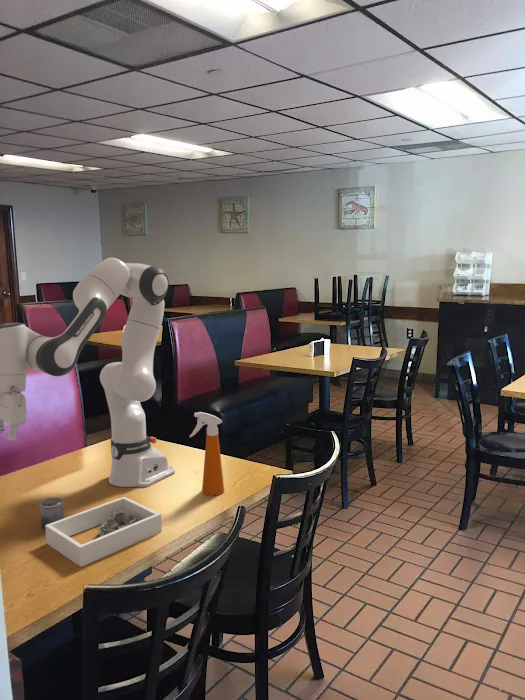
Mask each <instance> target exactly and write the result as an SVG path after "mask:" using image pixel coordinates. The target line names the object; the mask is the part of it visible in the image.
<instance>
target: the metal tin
mask: <svg viewBox="0 0 525 700" xmlns="http://www.w3.org/2000/svg"><path fill="white" fill-rule="evenodd" d="M39 506H40V507H39V508H40V515H41V516H40V517H41V528H42V530H43V529H44V530H43V531H46V529H45V525H47V524H50V523H53V522H56V521H58V520H61V519H64V508H63V498H60V497H50V498H49V497H48V498H45V499H43V500H41V501H40V504H39Z"/></svg>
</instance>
